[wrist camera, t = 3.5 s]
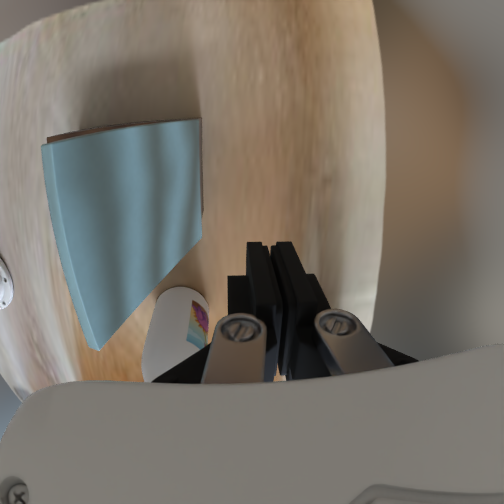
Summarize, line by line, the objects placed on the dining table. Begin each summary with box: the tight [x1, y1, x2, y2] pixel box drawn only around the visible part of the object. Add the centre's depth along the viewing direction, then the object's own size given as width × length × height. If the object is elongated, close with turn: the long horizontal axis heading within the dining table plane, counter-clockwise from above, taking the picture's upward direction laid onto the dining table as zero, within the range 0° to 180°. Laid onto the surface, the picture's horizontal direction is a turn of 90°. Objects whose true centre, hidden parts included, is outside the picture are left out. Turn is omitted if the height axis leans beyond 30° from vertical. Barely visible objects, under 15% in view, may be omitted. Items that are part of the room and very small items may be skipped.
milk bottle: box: [142, 287, 209, 383], centre depth 34 cm, size 8×8×20 cm
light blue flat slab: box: [41, 119, 202, 351], centre depth 20 cm, size 16×11×1 cm
